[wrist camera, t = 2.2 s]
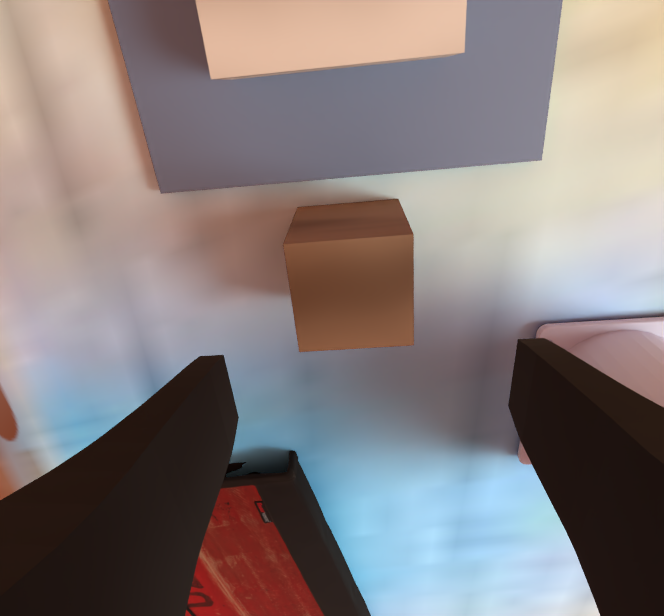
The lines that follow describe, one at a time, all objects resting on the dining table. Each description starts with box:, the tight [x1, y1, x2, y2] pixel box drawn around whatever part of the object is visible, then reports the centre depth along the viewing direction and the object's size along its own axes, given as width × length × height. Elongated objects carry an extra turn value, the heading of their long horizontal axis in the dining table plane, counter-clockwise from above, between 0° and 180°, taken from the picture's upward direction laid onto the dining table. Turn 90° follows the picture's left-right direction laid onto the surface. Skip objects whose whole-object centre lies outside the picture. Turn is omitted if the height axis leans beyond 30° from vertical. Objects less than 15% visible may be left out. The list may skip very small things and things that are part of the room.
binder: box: [185, 450, 371, 616], centre depth 32 cm, size 16×2×21 cm
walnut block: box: [283, 199, 414, 352], centre depth 18 cm, size 4×4×5 cm
